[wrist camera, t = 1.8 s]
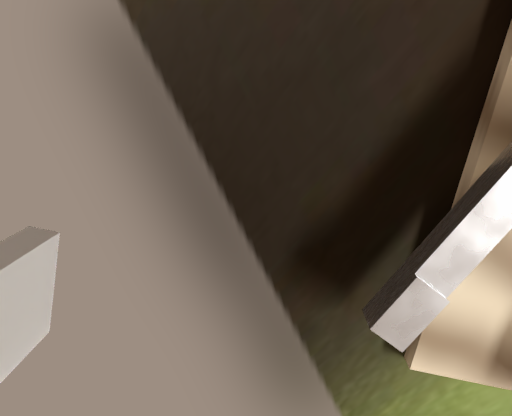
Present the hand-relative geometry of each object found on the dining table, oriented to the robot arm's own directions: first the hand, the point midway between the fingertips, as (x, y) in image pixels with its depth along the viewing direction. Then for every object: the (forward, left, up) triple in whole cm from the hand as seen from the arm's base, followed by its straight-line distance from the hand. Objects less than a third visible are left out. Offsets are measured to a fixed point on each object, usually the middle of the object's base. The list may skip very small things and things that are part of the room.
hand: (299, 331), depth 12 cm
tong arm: (-3, +12, -16) cm, 20 cm away
